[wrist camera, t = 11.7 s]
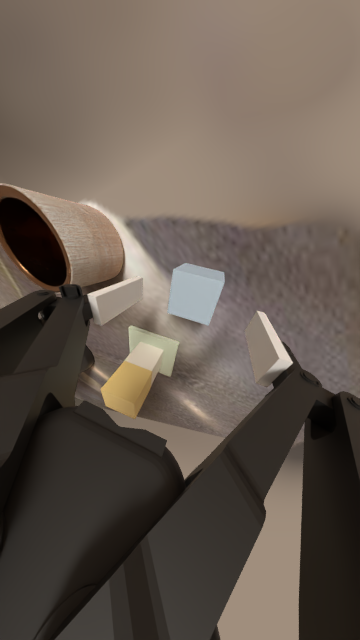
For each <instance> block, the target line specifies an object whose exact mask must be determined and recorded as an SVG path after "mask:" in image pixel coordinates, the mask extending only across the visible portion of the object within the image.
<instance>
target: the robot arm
mask: <svg viewBox="0 0 360 640" xmlns="http://www.w3.org/2000/svg"><path fill="white" fill-rule="evenodd" d="M142 285H143V278H142V277H138V276H136V277H133V278H130V279H128V280H125V281H122V282H119V283H117V284H114V285H111V286H108V287H106V288H103V289H100V290H98V291H95V292H92V293H89V294H87V295H84V296H83V294H82V290H81V286H79V285H77V284H65V285H61V286H59V290H60V293H61V295H62V298H61V297H56V295H55V292H54V291H52V290H39V291H35V292H32V293H30V294H28V295H27V296H25V297H23V298H21V299H19V300H17V301H15V302H13V303H11V304H9V305H7V306H6V307H4V308H2V309H0V640H220V636H219V632H218V627H217V623H218V621H219V619H220V616H221V614H222V612H223V610H224V608H225V606H226V603H227V602H228V599H229V597H230V595H231V593H232V591H233V589H234V587H235V584H236V582H237V580H238V578H239V576H240V574H241V572H242V570H243V567H244V565H245V563H246V561H247V559H248V557H249V555H250V553H251V550H252V548H253V546H254V544H255V542H256V540H257V538H258V536H259V533H260V531H261V529H262V527H263V524H264V521H265V517H266V510H265V507H264V499H265V497H266V495H267V493H268V491H269V489H270V487H271V485H272V483H273V481H274V479H275V477H276V475H277V474H278V472H279V470H280V468H281V466H282V464H283V462H284V460H285V458H286V456H287V454H288V452H289V451H290V449H291V447H292V445H293V443H294V441H295V439H296V437H297V435H298V433H299V431H300V430H301V428H302V426H303V424H304V422H305V429H304V461H303V491H302V522H301V553H300V554H301V555H300V584H299V585H300V586H299V640H360V399H359V398H357V397H356V396H354V395H352V394H350V393H348V392H344V391H342V392H339V393H338V394H336V395H335V394H333V393H331V392H329V391H328V390H326V389H324V388H322V385H321V383H320V381H319V380H318V379H317V378H316V377H315V376H313V375H312V374H311V373H309V372H307V371H306V370H303V369H302V368H301V366H300V365H299V363H298V361H297V360H296V358H295V357H294V355H293V353H292V352H291V350H290V348H289V347H288V346H287V345H286V344H285V343H284V342H282V341H280V339H279V337H278V336H277V334H276V332H275V330H274V329H273V327H272V325H271V323H270V321H269V320H268V318H267V316H266V314H265V313H263V312H260V311H256V313H255V315H254V316H253V318H252V320H251V321H250V323H249V325H248V326H247V328H246V330H245V335H246V340H247V345H248V349H249V354H250V358H251V363H252V367H253V372H254V376H255V381H256V383H257V384H259V385H262V386H265V387H268V386H269V385H270V384H271V383H273V386H274V389H272V390H271V391H270V392H269V393H268V394H267V395H266V396H265V398H264V399H263V400H262V401H261V402H260V403H259V404H258V405H257V406H256V407H255V408H254V409H253V410H252V411H251V412H250V413H249V414H248V415H247V416H246V417H245V418H244V419H243V421H242V422H241V423H240V424H239V425H238V426H237V427H236V428H235V429H234V430H233V431H232V432H231V433H230V434H229V435H228V436H227V437H226V438H225V439H224V440H223V441H222V442H221V443H220V445H218V447H217V448H216V449H215V450H214V451H213V452H212V453H211V454H210V455H209V456H208V457H207V458H206V459H205V460H204V461H203V462H202V463H201V464H200V465H199V466H198V467H197V468H196V469H195V470H194V471H193V472H192V473H191V474H190V475H189V476H188V477H187V478H186V479H185V480H184V478H183V475H182V472H181V469H180V467H179V465H178V463H177V461H176V460H175V458H174V456H173V455H172V453H171V452H170V451H169V450H168V449H167V448H166V447H165V445H166V442H167V440H165V439H163V438H161V437H159V436H157V435H155V434H153V433H150V432H149V431H147V430H143V429H134V428H125V427H119V426H118V425H117V424H116V423H115V422H114V421H113V420H112V419H111V418H110V416H109V415H108V414H106V412H105V411H104V410H103V409H101V408H99V407H97V406H95V405H93V404H91V403H89V402H87V401H85V400H84V401H83V402H82V403H81V404H80V405H79V406H75V400H74V396H75V391H76V386H77V382H78V377H79V374H80V373H81V372H83V371H86V370H87V369H89V368H90V367H91V366H92V365H93V363H94V358H93V355H92V354H91V352H90V350H89V349H88V348H87V347H86V346H85V344H86V340H87V335H88V331H89V326H90V320H89V319H91V318H93V320H94V323H95V324H98V325H101V326H102V325H104V324H105V323H107V322H108V321H110V320H111V319H113V318H114V317H116V316H117V315H119V314H120V313H122V312H123V311H125V310H126V309H128V308H129V307H131V306H132V305H134V304H135V303H137V302H138V301H140V300H141V299H142ZM39 312H40V314H41V316H42V318H41V319H39V318H38V313H39Z"/></svg>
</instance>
